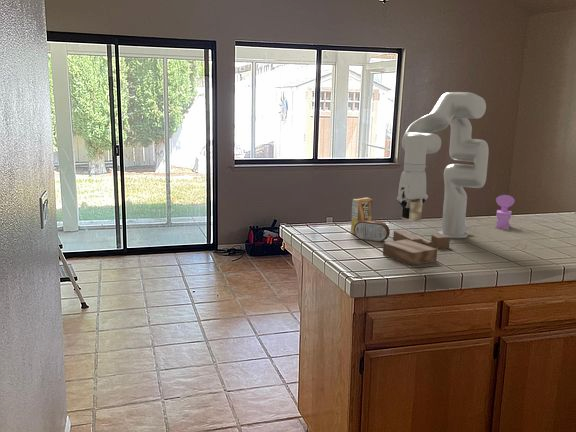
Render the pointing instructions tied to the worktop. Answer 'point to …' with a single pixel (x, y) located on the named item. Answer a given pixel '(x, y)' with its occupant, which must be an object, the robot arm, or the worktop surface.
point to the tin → (371, 230)
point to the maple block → (414, 210)
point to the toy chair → (504, 211)
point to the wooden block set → (424, 239)
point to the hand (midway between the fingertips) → (411, 216)
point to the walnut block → (409, 251)
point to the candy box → (361, 211)
